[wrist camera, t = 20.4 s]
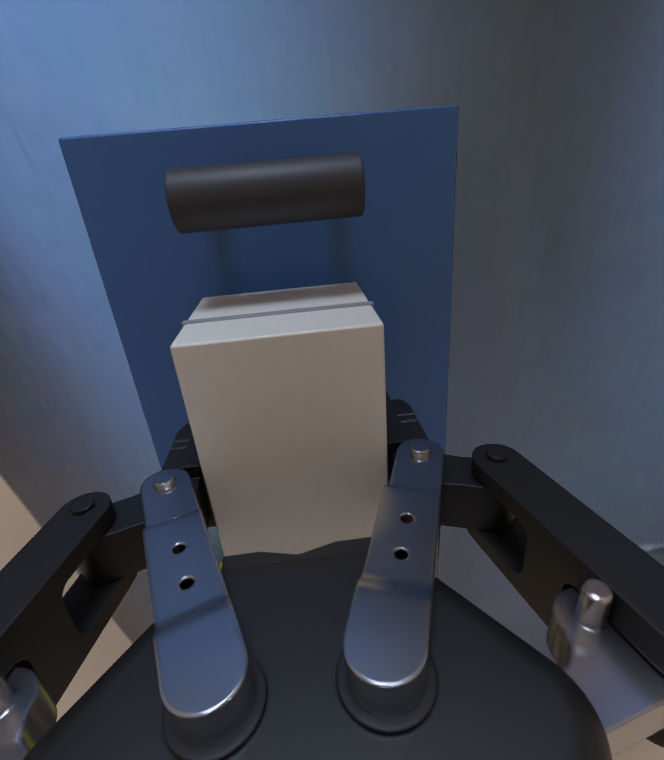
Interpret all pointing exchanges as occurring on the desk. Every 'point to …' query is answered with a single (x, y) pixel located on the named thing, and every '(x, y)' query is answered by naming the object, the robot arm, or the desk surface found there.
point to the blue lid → (276, 235)
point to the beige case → (287, 414)
